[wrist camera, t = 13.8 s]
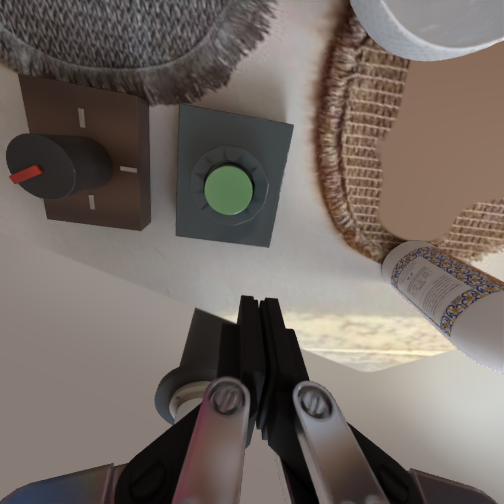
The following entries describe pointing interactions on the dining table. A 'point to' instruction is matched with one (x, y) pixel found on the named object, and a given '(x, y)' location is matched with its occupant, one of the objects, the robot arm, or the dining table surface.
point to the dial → (57, 164)
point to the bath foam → (451, 298)
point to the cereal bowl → (432, 26)
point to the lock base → (106, 134)
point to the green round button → (228, 189)
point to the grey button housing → (236, 153)
